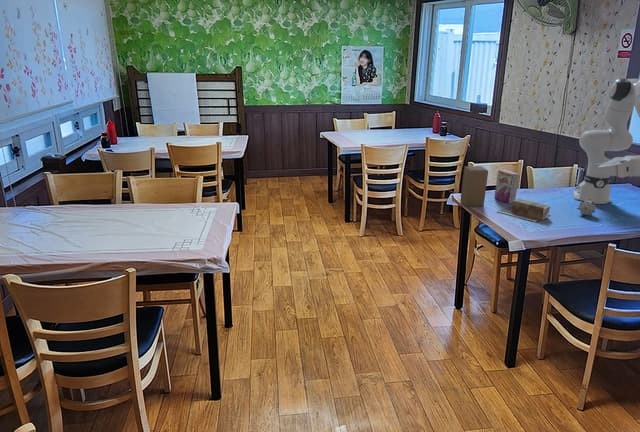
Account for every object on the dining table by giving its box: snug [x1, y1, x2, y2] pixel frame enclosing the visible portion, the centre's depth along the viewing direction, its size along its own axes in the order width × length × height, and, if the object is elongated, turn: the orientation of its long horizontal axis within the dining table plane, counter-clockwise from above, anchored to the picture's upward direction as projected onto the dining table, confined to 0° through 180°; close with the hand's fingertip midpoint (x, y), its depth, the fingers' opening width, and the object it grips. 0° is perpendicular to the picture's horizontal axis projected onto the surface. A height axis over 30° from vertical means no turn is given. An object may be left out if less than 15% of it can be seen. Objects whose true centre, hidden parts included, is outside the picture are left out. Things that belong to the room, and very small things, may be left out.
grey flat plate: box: [496, 204, 551, 223], centre depth 231 cm, size 20×16×1 cm
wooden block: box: [460, 165, 489, 207], centre depth 243 cm, size 10×10×20 cm
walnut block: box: [511, 198, 551, 221], centre depth 228 cm, size 6×6×16 cm
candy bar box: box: [493, 169, 520, 204], centre depth 249 cm, size 11×5×16 cm, turn 22°
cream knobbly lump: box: [576, 199, 599, 217], centre depth 229 cm, size 9×8×10 cm
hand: (595, 165), depth 208 cm, fingers closed
